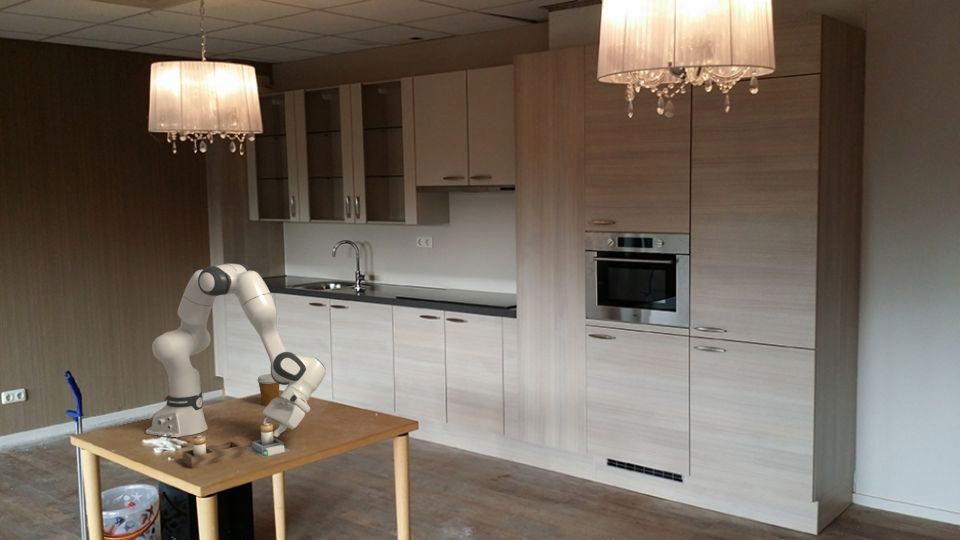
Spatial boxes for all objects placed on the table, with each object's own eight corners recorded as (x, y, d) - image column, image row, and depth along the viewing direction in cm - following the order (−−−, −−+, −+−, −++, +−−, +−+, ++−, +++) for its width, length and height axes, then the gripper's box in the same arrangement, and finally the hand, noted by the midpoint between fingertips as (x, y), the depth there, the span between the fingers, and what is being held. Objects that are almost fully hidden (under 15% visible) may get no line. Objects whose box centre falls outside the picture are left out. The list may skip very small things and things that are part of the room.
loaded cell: (191, 463, 277) (189, 437, 276) (198, 459, 281) (197, 433, 280) (202, 464, 276) (200, 438, 275) (209, 460, 280) (207, 434, 279)
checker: (263, 460, 282) (262, 450, 282) (245, 450, 293) (245, 440, 293) (290, 453, 288) (290, 443, 288) (272, 444, 299) (272, 434, 299)
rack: (192, 471, 273) (191, 458, 273) (183, 465, 280) (182, 451, 279) (244, 459, 284) (243, 446, 283) (233, 453, 290) (233, 440, 290)
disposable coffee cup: (286, 403, 354) (285, 375, 353) (267, 408, 347) (265, 380, 346) (273, 400, 361) (271, 372, 359) (254, 405, 354) (252, 376, 352)
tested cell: (259, 450, 289) (258, 425, 288) (265, 447, 293) (264, 421, 292) (270, 451, 288) (268, 425, 287) (276, 447, 292) (274, 422, 291)
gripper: (273, 389, 302) (249, 421, 297) (300, 399, 286) (275, 434, 281) (285, 399, 305) (261, 431, 300) (312, 410, 289) (288, 444, 284)
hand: (268, 432), depth 290 cm, fingers open, 8 cm apart
